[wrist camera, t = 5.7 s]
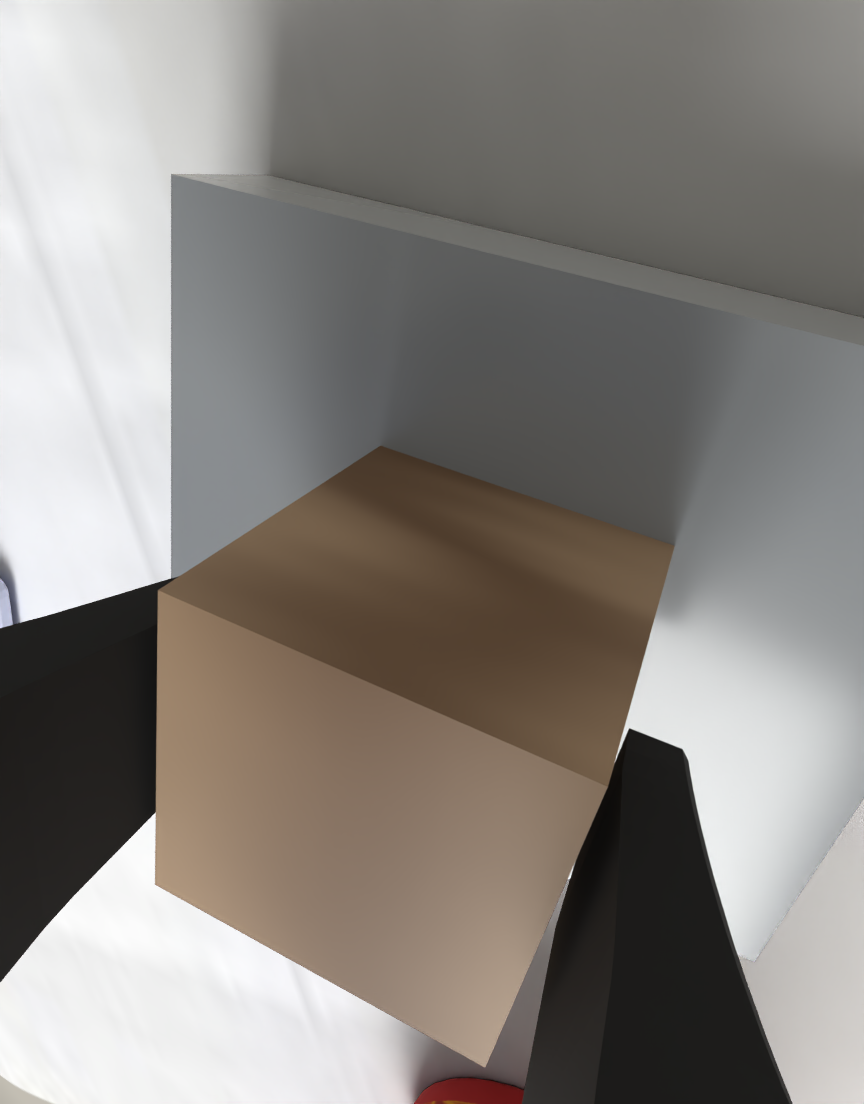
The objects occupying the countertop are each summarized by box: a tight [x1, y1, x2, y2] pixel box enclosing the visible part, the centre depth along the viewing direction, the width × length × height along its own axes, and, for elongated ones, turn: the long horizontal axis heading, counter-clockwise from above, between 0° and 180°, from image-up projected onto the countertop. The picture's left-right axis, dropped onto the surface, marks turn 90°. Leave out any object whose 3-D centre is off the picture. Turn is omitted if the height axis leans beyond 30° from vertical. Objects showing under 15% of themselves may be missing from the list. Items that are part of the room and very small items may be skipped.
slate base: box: [171, 174, 864, 962], centre depth 13 cm, size 12×10×2 cm
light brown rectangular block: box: [155, 446, 675, 1067], centre depth 10 cm, size 4×4×5 cm
